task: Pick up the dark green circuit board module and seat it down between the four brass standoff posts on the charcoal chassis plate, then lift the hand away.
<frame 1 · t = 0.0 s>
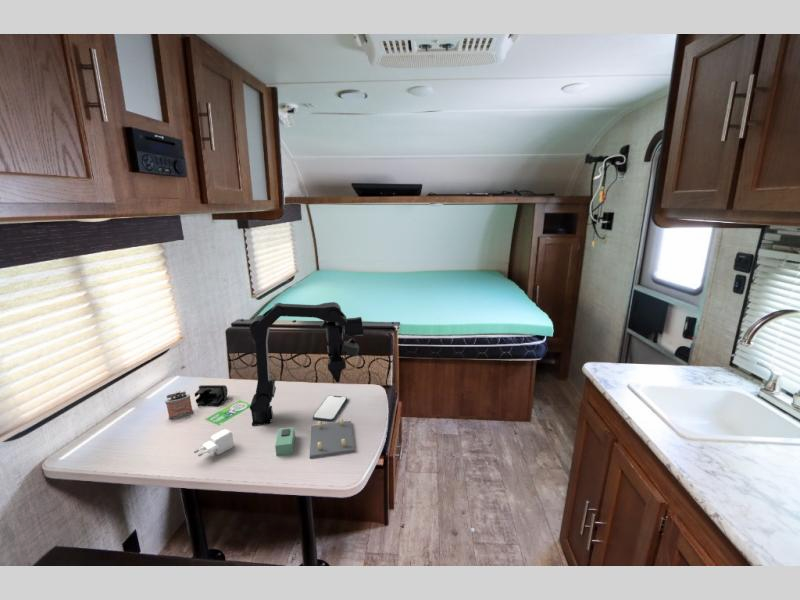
hand: (337, 376, 137), 15 cm above the table, tool pointing down, fingers open, 9 cm apart
end cap: (212, 402, 148), on the table
power adapter: (215, 453, 118), on the table
circuit board module: (286, 446, 121), on the table
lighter: (181, 415, 139), on the table
smartphone: (330, 410, 142), on the table
chassis: (331, 439, 124), on the table
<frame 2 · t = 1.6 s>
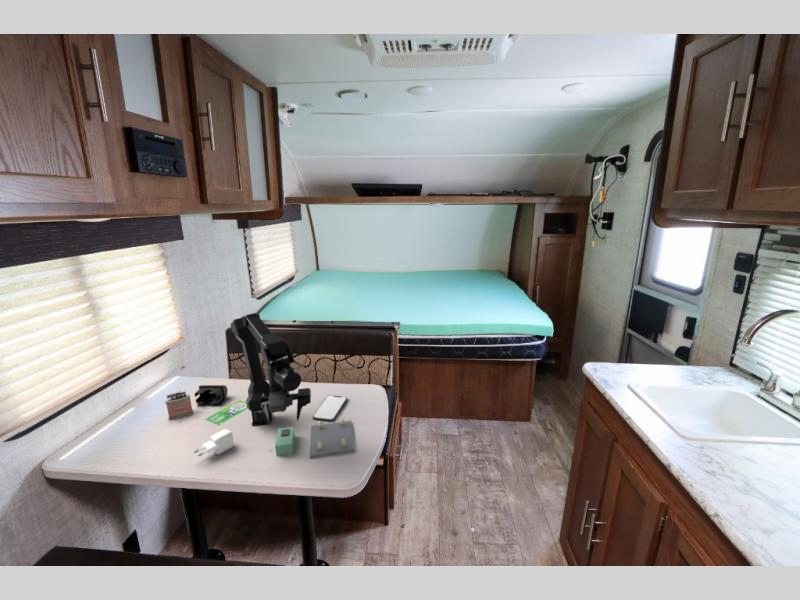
hand: (283, 421, 119), 9 cm above the table, tool pointing down, fingers open, 9 cm apart
nothing on the table moved.
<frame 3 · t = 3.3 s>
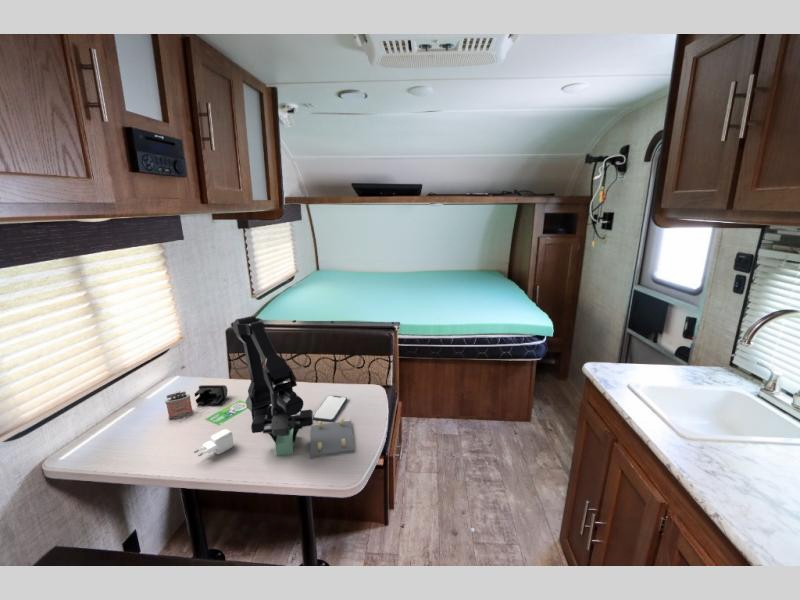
hand: (285, 443, 121), 1 cm above the table, tool pointing down, fingers closed on circuit board module, 5 cm apart
circuit board module: (286, 445, 121), on the table, touching gripper
everything else where it was.
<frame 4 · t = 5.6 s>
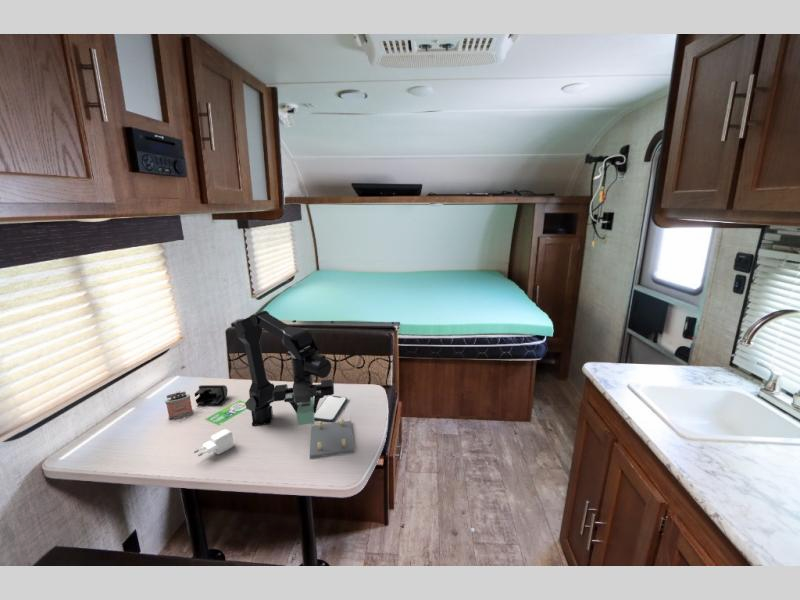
hand: (306, 413, 119), 11 cm above the table, tool pointing down, fingers closed on circuit board module, 5 cm apart
circuit board module: (306, 416, 119), point 10 cm above the table, touching gripper
everything else where it was.
when the fingers open (3 cm above the table, at t = 8.2 s): circuit board module stays where it is, resting on chassis.
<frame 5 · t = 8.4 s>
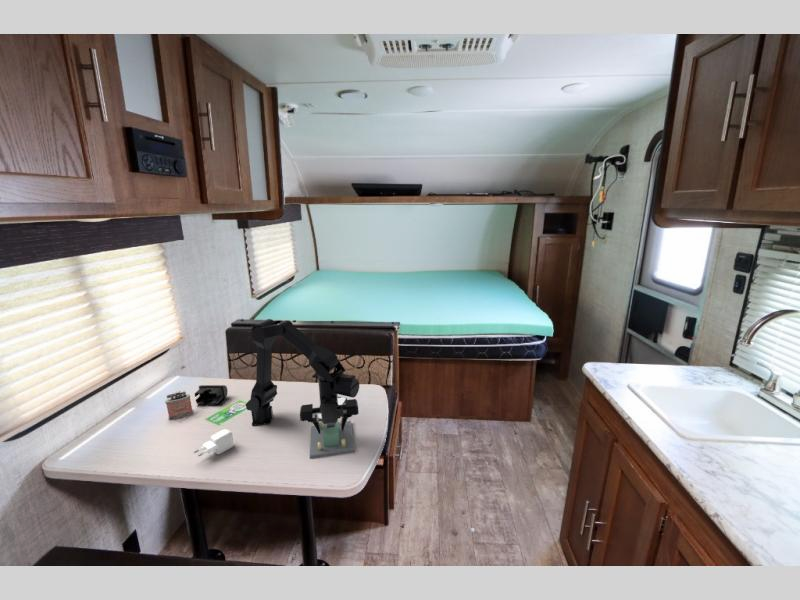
hand: (331, 431, 123), 3 cm above the table, tool pointing down, fingers open, 7 cm apart
circuit board module: (331, 437, 124), point 1 cm above the table, touching chassis
everything else where it was.
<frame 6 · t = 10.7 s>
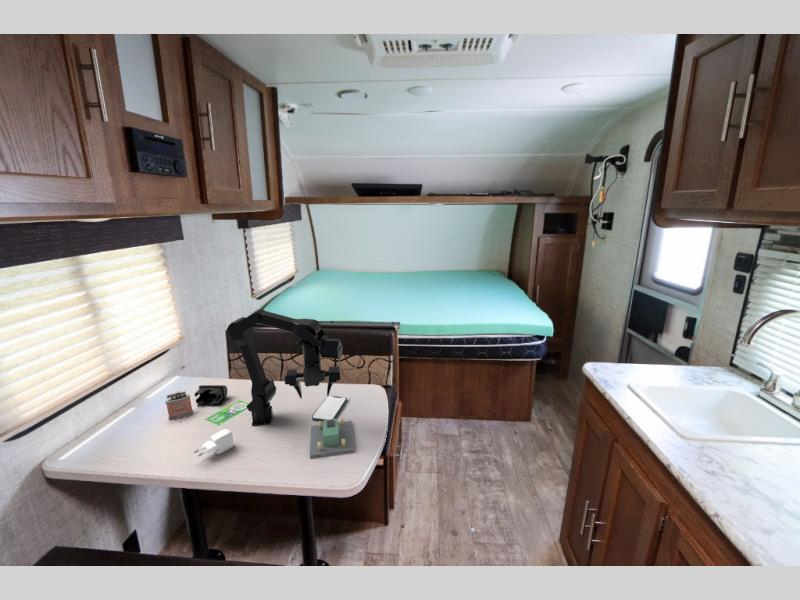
hand: (314, 396, 130), 11 cm above the table, tool pointing down, fingers open, 9 cm apart
nothing on the table moved.
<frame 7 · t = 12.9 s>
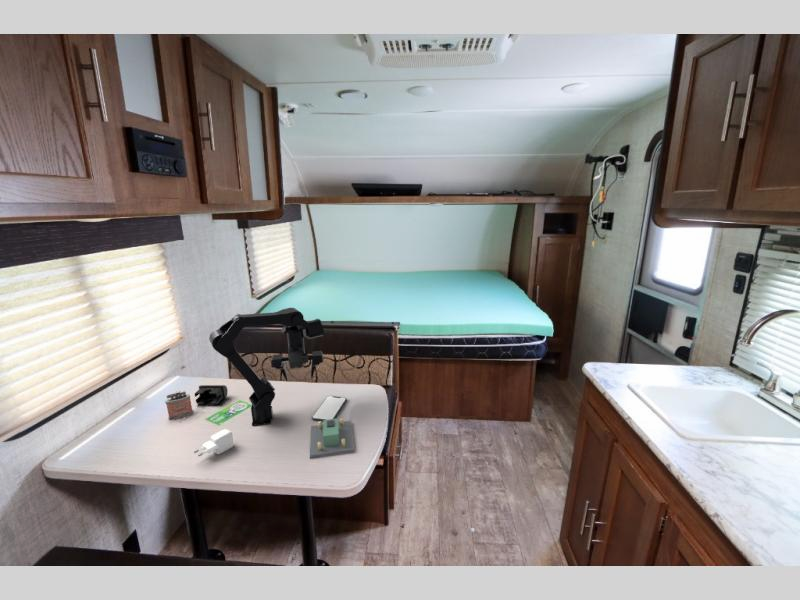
hand: (299, 379, 140), 12 cm above the table, tool pointing down, fingers open, 9 cm apart
nothing on the table moved.
at the end: circuit board module 0.1 cm off-centre on the chassis, point 1.0 cm above the chassis's base; circuit board module tilted 0°; the gripper is holding nothing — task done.
